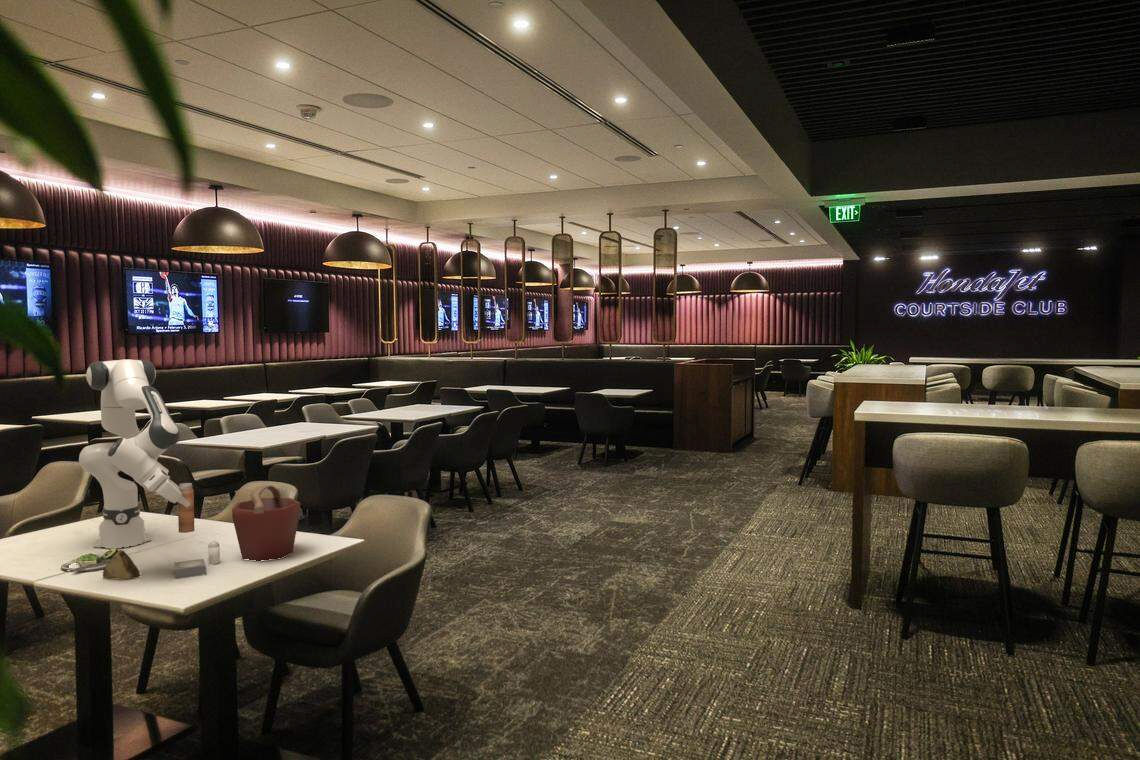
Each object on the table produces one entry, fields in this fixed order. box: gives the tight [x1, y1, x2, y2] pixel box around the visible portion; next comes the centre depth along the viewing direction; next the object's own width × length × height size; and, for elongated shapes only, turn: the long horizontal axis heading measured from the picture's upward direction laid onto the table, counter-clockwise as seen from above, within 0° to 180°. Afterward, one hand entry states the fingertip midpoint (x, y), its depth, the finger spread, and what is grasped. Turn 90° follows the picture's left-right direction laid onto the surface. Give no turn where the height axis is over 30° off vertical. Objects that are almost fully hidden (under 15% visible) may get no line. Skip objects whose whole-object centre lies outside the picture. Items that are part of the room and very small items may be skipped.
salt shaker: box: [207, 540, 221, 565], centre depth 268 cm, size 4×4×8 cm
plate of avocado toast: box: [60, 548, 119, 573], centre depth 265 cm, size 19×18×5 cm
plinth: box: [173, 558, 207, 579], centre depth 257 cm, size 9×9×3 cm
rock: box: [102, 549, 142, 580], centre depth 253 cm, size 11×9×10 cm
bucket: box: [231, 484, 301, 562], centre depth 278 cm, size 24×22×25 cm
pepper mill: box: [177, 482, 195, 534], centre depth 259 cm, size 5×5×16 cm
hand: (188, 503), depth 260 cm, fingers closed on pepper mill, 5 cm apart
